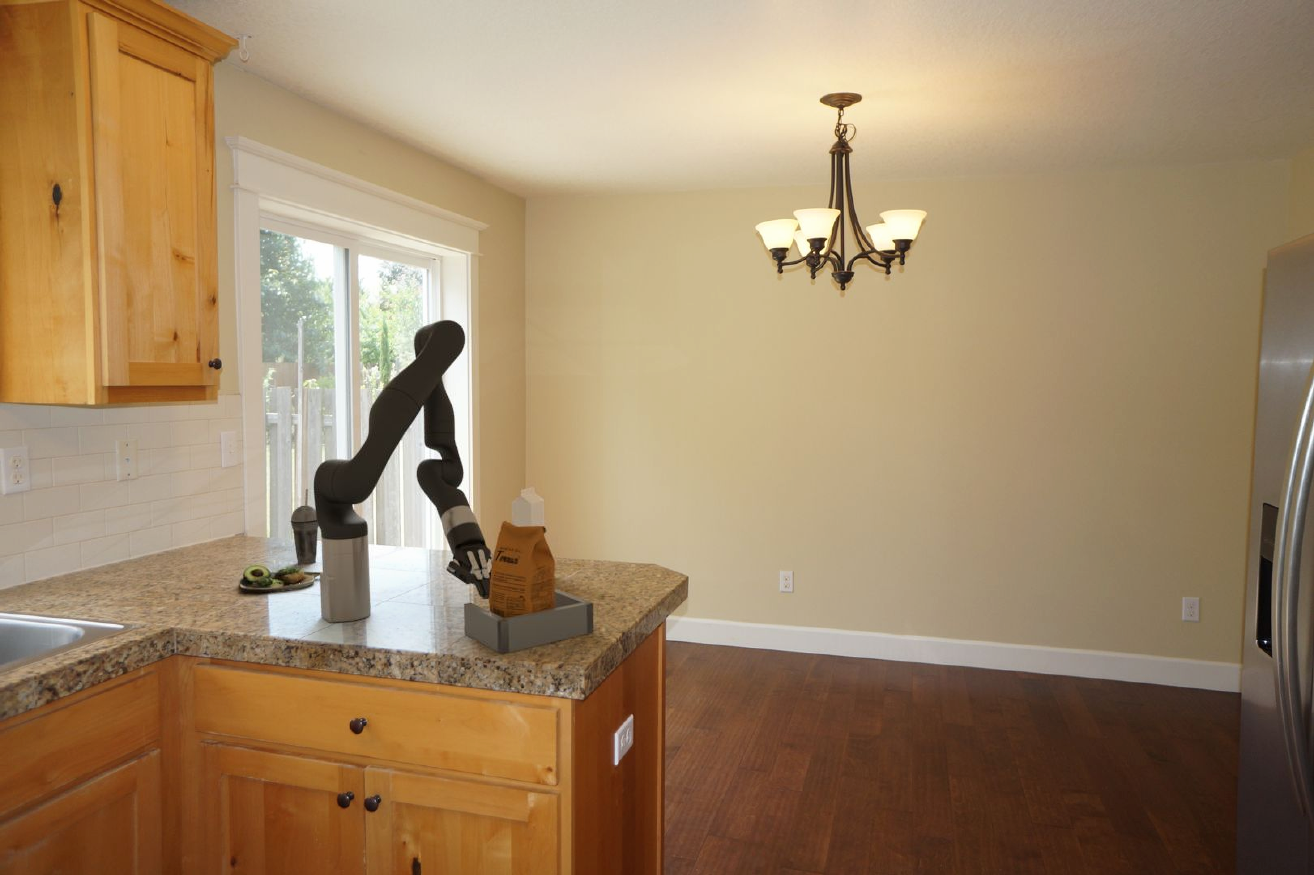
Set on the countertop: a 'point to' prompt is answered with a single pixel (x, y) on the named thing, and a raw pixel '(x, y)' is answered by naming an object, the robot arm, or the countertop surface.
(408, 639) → the countertop surface
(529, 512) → the milk
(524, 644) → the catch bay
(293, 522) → the beverage cup
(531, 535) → the coffee package
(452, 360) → the robot arm
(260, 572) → the salad plate
